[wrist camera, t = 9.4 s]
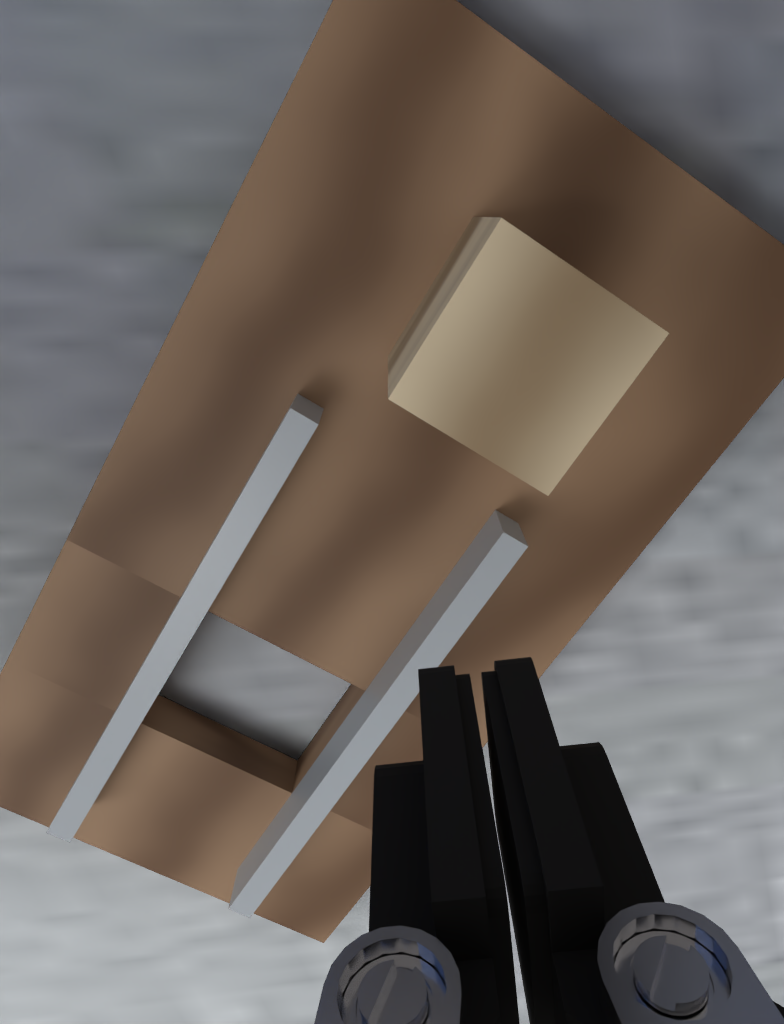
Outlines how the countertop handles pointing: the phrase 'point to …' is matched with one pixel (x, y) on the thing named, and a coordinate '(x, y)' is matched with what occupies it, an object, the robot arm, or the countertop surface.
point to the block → (518, 353)
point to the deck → (374, 436)
